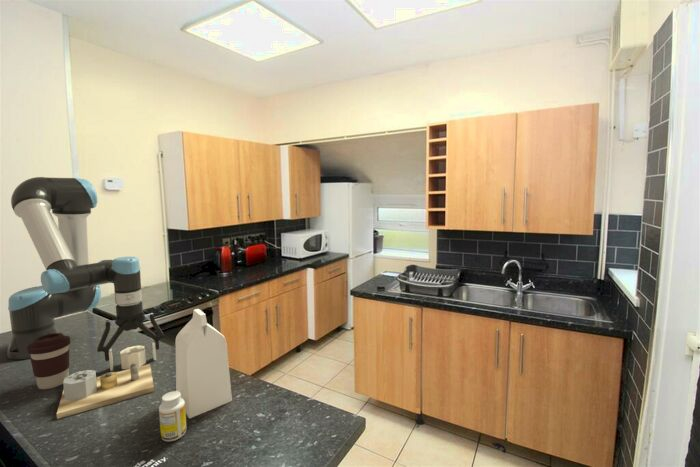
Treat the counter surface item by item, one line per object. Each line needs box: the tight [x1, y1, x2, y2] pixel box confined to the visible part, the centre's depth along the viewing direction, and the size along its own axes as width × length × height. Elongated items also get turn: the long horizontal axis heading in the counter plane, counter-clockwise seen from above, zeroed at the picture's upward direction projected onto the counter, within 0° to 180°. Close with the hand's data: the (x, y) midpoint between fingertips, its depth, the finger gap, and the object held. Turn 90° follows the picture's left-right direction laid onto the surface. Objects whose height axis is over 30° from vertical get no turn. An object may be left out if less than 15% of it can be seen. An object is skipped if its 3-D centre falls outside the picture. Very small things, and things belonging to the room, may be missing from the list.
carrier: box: [56, 363, 155, 420], centre depth 99 cm, size 16×22×7 cm
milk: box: [175, 308, 233, 419], centre depth 94 cm, size 12×12×26 cm
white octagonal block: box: [120, 344, 147, 370], centre depth 115 cm, size 7×7×5 cm
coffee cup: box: [27, 332, 71, 390], centre depth 103 cm, size 10×10×15 cm
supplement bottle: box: [158, 390, 187, 442], centre depth 81 cm, size 6×6×10 cm
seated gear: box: [62, 369, 97, 401], centre depth 96 cm, size 7×7×5 cm
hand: (133, 363), depth 115 cm, fingers open, 12 cm apart
